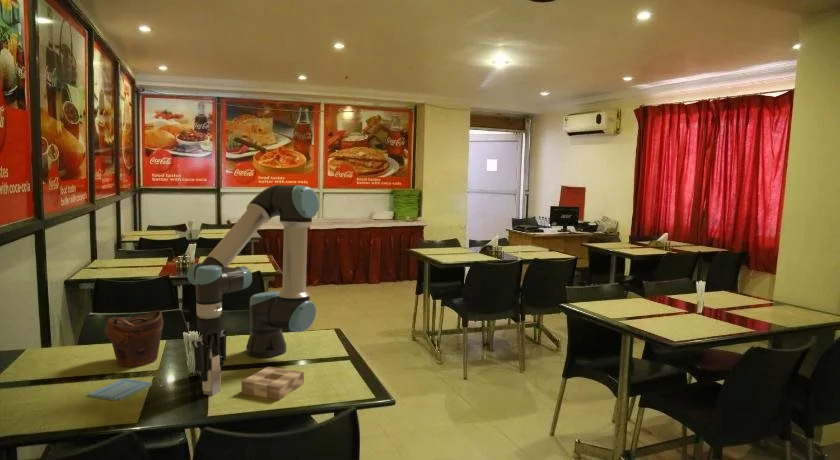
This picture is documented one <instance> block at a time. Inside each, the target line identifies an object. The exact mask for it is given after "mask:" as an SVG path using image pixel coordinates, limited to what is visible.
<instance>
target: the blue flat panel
mask: <svg viewBox="0 0 840 460" xmlns="http://www.w3.org/2000/svg"><path fill="white" fill-rule="evenodd" d="M151 386H153V383H152V382H148V381H143V380H135V379H130V378H129V379H128V378H121V379H119V380H118V379H117V380H116V381H114V382H112V383H109V384H107V385H104V386H103V387H100V388H98V389H96V390H93V391H91V392H89V393H87V397H91V398H96V399H97V398H98V399H104V400H110V401H114V402H116V401H122V400H123V399H126V398H129V397H130V396H133V395H135V394H137V393H139V392H140V391H143V390H145V389H148V388H149V387H151Z"/></svg>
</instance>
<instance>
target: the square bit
mask: <svg viewBox="0 0 840 460" xmlns="http://www.w3.org/2000/svg"><path fill="white" fill-rule="evenodd" d="M209 370H211V391H210V392H209V391H204V390H203V389H202V391H203V395H207V396H215V395H217V394H218V393H220V392H221V386H220V355H217V354H210V361H209Z"/></svg>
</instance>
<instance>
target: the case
mask: <svg viewBox="0 0 840 460" xmlns="http://www.w3.org/2000/svg"><path fill="white" fill-rule="evenodd" d="M163 327H164V318H163V313H162V311H161V310H157V309H156V310H153V311H150V312H147V313H146V312H145V313H142V314H139V315H134V316H118V317H110V318H108V319H107V321H106V325H105V328H104V333H105V335H106V337H107V339H108V340H110V342H111V344H112V349H113V353H114V355H115V356H114V357H115V358H116V363H117V365H118V366H120V367H126V368H127V367H128V368H129V367H131V368H132V367H139V366H146V365H149V364H151V363H154V362H156V360H157V359H158V356H159V350H160V343H161V339H162V331H163Z"/></svg>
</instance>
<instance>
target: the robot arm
mask: <svg viewBox="0 0 840 460" xmlns="http://www.w3.org/2000/svg"><path fill="white" fill-rule="evenodd" d="M319 207H320V201H319V197H318V195H317V193H316V192H315V190H314V189H313V188H311V187H310V186H306V185H300V184H298V185H291V184H290V185H288V184H286V185H285V184H276V185H275V184H274V185H271V186H269V187H267V188H265V189H264V190H262V191H260V192H259V193H258V194H257V195H256V196H254V198H253V199H251V201H250V202H249V203H248V204H247V206H246V211H245V212H244V213H243V214H242V215H241V217H240V218H239V219H238V220H237V221H236V222H235V224H234V225H233V226H232V227H231V228H230V229H229V230H228V232H226V234H225V235H224V236H223V238H222V239H220V241H219V242H218V243H217V245H216V246H215V247H214V248H213V250H211V251H210V253H209V254H208V255H207V256H206V258H205V259H204V260H203V261H202V262H196V263H193V264H191V265H190V267H189V268H188V270H187V273H186V274H187V277H186V278H187V280H188V282H189V283H190V284H192V285H194V286H195V297H196V299H195V300H196V303H195V305H196V316H197V317H196V329H198V330H199V333H198V338H197V339H196V340H192V341H191V343H192V347H193V355H194V366H195V367H194V368H195V371H197V372H200V371H201V377H200V379H201V382H202V384H201V385H202V388H201V389H202V391H203V390H204V391H209V392H210V391H211V370H209V361H210V351H212V354H217V355H220V387H221V385H222V384H221V383H222V382H221V380H222V379H221V377H222V375H221V374H222V366H224V365H225V362H226V361H227V337H228V331H227V330H224V329H222V327H223V326H224V323H223V322H224V319H223V315H222V314H223V294H229V293H231V292H232V293H233V292H237V291H242V290H244V289H247V288H249V287H250V286H251V284H252V282H253V275H252V274H253V273H252V272H251V270H250V269H249V268H248V267H247V266H245V265H244V266H243V265H242V266H236V267H229V266H230V265H231V263H233V261H234V260H235V259H236V257H238V255H239V254H240V253H241V251H242V250H243V249H244V248H245V247H246V245H247V244H248V243H249V242H250V240H251V239H252V238H253V237H254V235H256V233H257V232H258V230H259V229H260V228H261V227H262V225H264V224H268V223H269V221H270V220H271V219H272V218H274V217H278V216H279V222H280V224H282V226H283V247H282V248H283V249H282V250H283V254H282V255H283V256H282V290H281V291H279V290H278V291H277V290H275V291H266V292H265V291H264V292H260V293H255V294H252V295H251V296H250V298H249V321H250V322H249V323H250V333H249V337H248V340H247V342H246V347H245V351H246V352H245V354H246V355H247V356H249V357H253V358H270V357H271V358H273V357H277V356H280V355H283V354H284V353H285V352H287V342H286V340H285V337H284V334H283V330H286V331H290V332H297V333H298V332H299V333H301V332H305V331H307V330H308V329H309V328H310V327H311V326H312V325H313V323H314V322H315V319H316V315H317V308H316V307H317V306H316V305H315V303H314V302H313V301H311V294H310V293H309V292H308V291H307V263H308V261H307V260H308V257H307V256H308V255H307V254H308V253H307V252H308V227H309V226H310V225H311V224H312V223H313V221H312V220H313V218H315V216H316V215H317V214H318V212H319Z"/></svg>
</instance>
